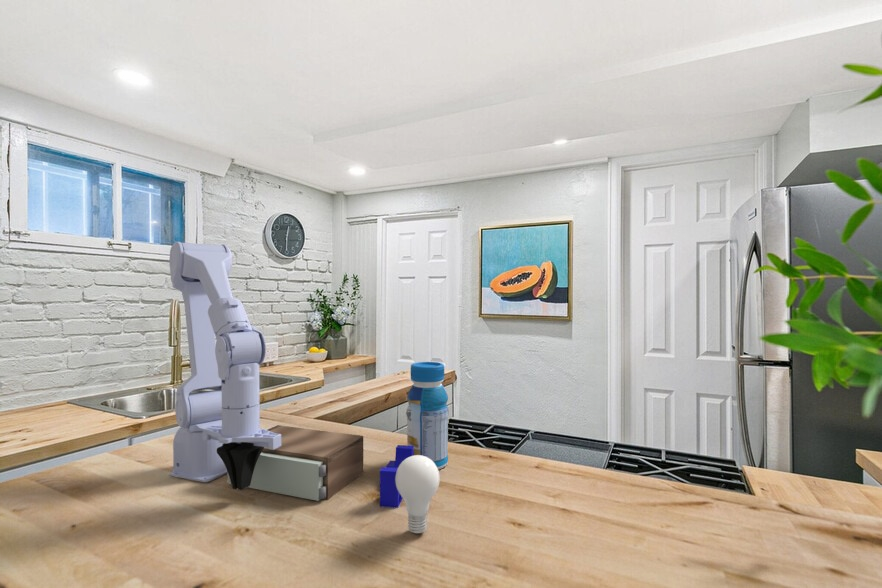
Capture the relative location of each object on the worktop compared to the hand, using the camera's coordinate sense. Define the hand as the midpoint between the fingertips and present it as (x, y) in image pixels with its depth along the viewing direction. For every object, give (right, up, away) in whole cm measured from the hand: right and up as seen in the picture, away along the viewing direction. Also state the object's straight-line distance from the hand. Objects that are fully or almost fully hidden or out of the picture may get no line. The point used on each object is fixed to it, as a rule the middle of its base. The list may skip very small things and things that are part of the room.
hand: (241, 487), depth 74 cm
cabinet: (+7, -2, +10) cm, 12 cm away
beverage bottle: (+30, -2, +16) cm, 34 cm away
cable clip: (+25, -3, +4) cm, 25 cm away
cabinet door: (+4, -2, +3) cm, 6 cm away
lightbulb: (+29, -3, -9) cm, 31 cm away
